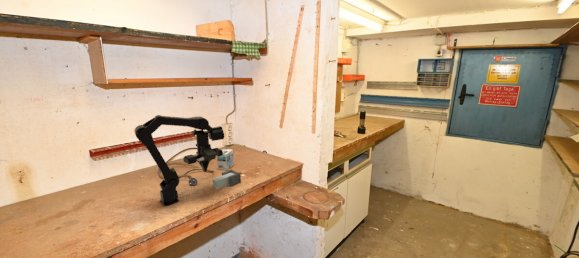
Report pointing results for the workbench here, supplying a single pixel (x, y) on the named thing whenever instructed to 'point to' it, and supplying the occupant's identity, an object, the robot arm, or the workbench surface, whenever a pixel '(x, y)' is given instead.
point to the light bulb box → (226, 159)
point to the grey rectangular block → (221, 181)
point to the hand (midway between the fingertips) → (205, 171)
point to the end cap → (233, 177)
